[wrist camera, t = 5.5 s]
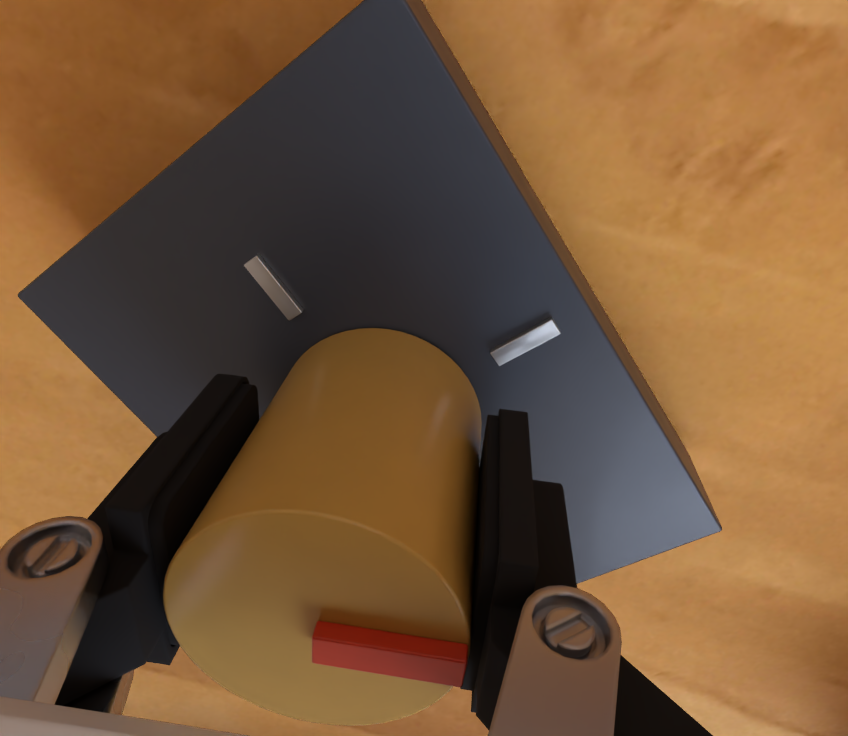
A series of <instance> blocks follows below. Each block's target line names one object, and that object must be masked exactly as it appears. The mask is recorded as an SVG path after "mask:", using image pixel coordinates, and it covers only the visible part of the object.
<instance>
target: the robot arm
mask: <svg viewBox="0 0 848 736" xmlns="http://www.w3.org/2000/svg"><path fill="white" fill-rule="evenodd" d="M258 422H259V404H258V391H257V387H256V386H255V385H251V384H249V380H248V378H247V377H244V376H236V375H228V374H216V375H215V376H214V377H213V378H212V380H211V381H210V382H209V383H208V384H207V386H206V387H205V388H204V389H203V390H202V391H201V393H200V394H199V395H198V396H197V397H196V399H195V400H194V401H193V402H192V403H191V404H190V406H189V407H188V408H187V409H186V410H185V412H184V413H183V414H182V415H181V416H180V417H179V419H178V420H177V421H176V422H175V423H174V425H173V426H172V427H171V428H170V429H169V431H168V432H164V433H162V434H161V435H159V436H158V437H157V438H156V439H155V441H154V442H153V443H152V444H151V445H150V446H149V448H148V449H147V450H146V451H145V452H144V453H143V455H142V456H141V457H140V458H139V459H138V460H137V462H136V463H135V464H134V465H133V466H132V467H131V469H130V470H129V471H128V472H127V473H126V474H125V476H124V477H123V478H122V479H121V480H120V481H119V483H118V484H117V485H116V486H115V487H114V488H113V490H112V491H111V492H110V493H109V494H108V495H107V497H106V498H105V499H104V500H103V501H102V502H101V504H100V505H99V506H98V507H97V508H96V509H95V511H94V512H93V513H92V514H91V515H90V516H89V518H88V519H86V518H83V517H73V516H66V517H58V518H52V519H48V520H45V521H42V522H38V523H36V524H34V525H32V526H30V527H28V528H25V529H23V530H21V531H20V532H19V533H17V534H16V535H15V536H13V537H12V538H11V539H9V540H8V541H7V542H6V544H5V545H4V546H3V547H2V548H1V549H0V736H248V735H242V734H236V733H230V732H223V731H217V730H211V729H205V728H198V727H192V726H186V725H180V724H173V723H167V722H161V721H155V720H148V719H142V718H136V717H130V716H123V715H122V712H123V709H124V706H125V703H126V699H127V696H128V693H129V690H130V686H131V683H132V680H133V674H134V669H136V668H138V667H140V666H142V665H144V664H145V663H146V661H147V662H153V663H159V664H166V665H170V664H171V662H172V660H173V658H174V656H175V654H176V652H177V650H178V648H179V647H180V644H179V643H178V641H177V640H176V638H175V636H174V635H173V633H172V630H171V628H170V626H169V623H168V621H167V617H166V613H165V609H164V601H163V588H164V579H165V575H166V572H167V569H168V566H169V564H170V562H171V560H172V558H173V557H174V555H175V553H176V552H177V550H178V548H179V547H180V545H181V544H182V542H183V540H184V539H185V537H186V536H187V534H188V532H189V531H190V529H191V528H192V526H193V525H194V523H195V521H196V520H197V518H198V517H199V515H200V513H201V512H202V510H203V509H204V507H205V506H206V504H207V502H208V501H209V499H210V498H211V496H212V494H213V493H214V491H215V490H216V488H217V487H218V485H219V483H220V482H221V480H222V479H223V477H224V475H225V474H226V472H227V471H228V469H229V467H230V466H231V464H232V463H233V461H234V460H235V458H236V456H237V455H238V453H239V452H240V450H241V448H242V447H243V445H244V444H245V442H246V441H247V439H248V437H249V436H250V434H251V433H252V431H253V429H254V428H255V426H256V425H257V423H258ZM621 643H622V641H621V632H620V627H619V625H618V623H617V621H616V619H615V617H614V615H613V614H612V613H611V611H610V610H609V609H608V608H607V607H606V606H605V604H604V603H602V602H601V601H599V600H598V599H597V598H595V597H594V596H593V595H591V594H589V593H587V592H585V591H582V590H580V589H578V588H577V583H576V576H575V569H574V562H573V554H572V547H571V540H570V533H569V525H568V518H567V511H566V504H565V496H564V490H563V486H562V484H561V483H554V482H546V481H539V480H533V478H532V464H531V450H530V436H529V422H528V413H527V412H523V411H515V410H507V409H499V412H498V416H496V415H488V416H487V422H486V428H485V435H484V441H483V448H482V454H481V461H480V467H479V484H478V504H477V524H476V545H475V565H474V585H473V605H472V625H471V643H470V653H469V657H468V661H467V667H466V672H465V677H464V682H463V685H462V687H460V688H461V689H465V690H472V703H471V712H475V713H476V716H477V717H478V718H479V719H480V720H481V722H482V723H483V724H484V725H485V726H486V728H487V729H488V730H489V733H488V736H713V735H711V734H710V733H709V732H708V731H707V730H706V729H705V728H703V727H702V726H701V725H700V724H699V723H698V722H697V721H695V720H694V719H693V718H692V717H691V716H690V715H689V714H687V713H686V712H685V711H684V710H683V709H682V708H681V707H679V706H678V705H677V704H676V703H675V702H674V701H673V700H671V699H670V698H669V697H668V696H667V695H666V694H665V693H663V692H662V691H661V690H660V689H659V688H658V687H657V686H655V685H654V684H653V683H652V682H651V681H650V680H649V679H647V678H646V677H645V676H644V675H643V674H642V673H641V672H639V671H638V670H637V669H636V668H635V667H634V666H633V665H631V664H630V663H629V662H628V661H627V660H626V659H625V658H623V657H622V656H621V655H620V654H621Z"/></svg>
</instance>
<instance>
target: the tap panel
mask: <svg viewBox="0 0 848 736" xmlns="http://www.w3.org/2000/svg"><path fill="white" fill-rule="evenodd" d="M18 297H19V298H20V299H21V300H22V301H23V302H24V303H25V304H26V305H27V306H28V307H29V308H30V309H31V310H32V311H33V312H34V313H35V314H36V315H37V316H38V317H39V318H40V319H41V320H42V321H43V322H44V323H45V324H46V325H47V326H48V327H49V328H50V329H51V330H52V331H53V332H54V333H55V334H56V335H57V336H58V337H59V338H60V339H61V340H62V341H63V342H64V344H65V345H66V346H67V347H68V348H69V349H70V350H71V351H72V352H73V353H74V354H75V355H76V356H77V357H78V358H79V359H80V360H81V361H82V362H83V363H84V364H85V365H86V366H87V367H88V368H89V369H90V370H91V371H92V372H93V373H94V374H95V375H96V376H97V377H98V378H99V379H100V380H101V381H102V382H103V383H104V384H105V385H106V386H107V387H108V388H109V389H110V390H111V391H112V392H113V393H114V394H115V395H116V396H117V397H118V398H119V399H120V400H121V401H122V402H123V403H124V404H125V405H126V406H127V407H128V408H129V409H130V410H131V411H132V412H133V413H134V414H135V415H136V416H137V417H138V418H139V419H140V420H141V421H142V422H143V423H144V424H145V425H146V426H147V427H148V428H149V429H150V430H151V431H152V432H153V433H154V434H155V435H156V436H157V437H158V436H159V435H161V434H162V433H164V432H168V431H169V429H170V428H171V427H172V426H173V425H174V423H175V422H176V421H177V420H178V419H179V417H180V416H181V415H182V414H183V413H184V412H185V410H186V409H187V408H188V407H189V406H190V404H191V403H192V402H193V401H194V400H195V399H196V397H197V396H198V395H199V394H200V393H201V391H202V390H203V389H204V388H205V387H206V386H207V384H208V383H209V382H210V381H211V380H212V378H213V377H214V376H215V375H216V374H228V375H236V376H244V377H247V378H248V380H249V384H251V385H255V386H256V387H257V391H258V404H259V420H260V418H261V417H262V415H263V414H264V412H265V410H266V409H267V407H268V406H269V404H270V402H271V401H272V399H273V398H274V396H275V395H276V393H277V391H278V390H279V388H280V387H281V385H282V383H283V382H284V380H285V379H286V377H287V376H288V374H289V372H290V371H291V369H292V368H293V366H294V364H295V363H296V362H297V361H298V359H299V358H300V357H301V356H302V355H303V354H304V353H305V352H306V351H307V350H308V349H310V348H311V347H312V346H314V345H315V344H317V343H318V342H320V341H321V340H323V339H325V338H328V337H330V336H332V335H335V334H338V333H341V332H344V331H349V330H354V329H362V328H380V329H390V330H395V331H400V332H404V333H407V334H410V335H413V336H416V337H418V338H420V339H422V340H424V341H427V342H428V343H430V344H432V345H433V346H435V347H437V348H438V349H440V350H441V351H442V352H444V353H445V354H446V355H447V356H449V357H450V358H451V359H452V360H453V361H454V362H455V363H456V364H457V365H458V366H459V367H460V368H461V370H462V371H463V372H464V374H465V375H466V376H467V378H468V379H469V381H470V383H471V385H472V386H473V388H474V391H475V393H476V396H477V398H478V402H479V406H480V410H481V443H480V461H481V454H482V448H483V441H484V435H485V428H486V422H487V416H488V415H496V416H498V412H499V409H507V410H515V411H523V412H527V413H528V422H529V436H530V450H531V464H532V478H533V480H539V481H546V482H554V483H561V484H562V486H563V490H564V496H565V504H566V511H567V518H568V525H569V533H570V540H571V547H572V554H573V562H574V569H575V576H576V583H577V584H578V583H580V582H583V581H586V580H588V579H591V578H594V577H597V576H599V575H602V574H605V573H608V572H610V571H613V570H616V569H619V568H621V567H624V566H627V565H629V564H632V563H635V562H638V561H640V560H643V559H646V558H649V557H651V556H654V555H657V554H659V553H662V552H665V551H668V550H670V549H673V548H676V547H679V546H681V545H684V544H687V543H690V542H692V541H695V540H698V539H700V538H703V537H706V536H709V535H711V534H714V533H717V532H720V531H721V530H722V527H721V525H720V522H719V520H718V518H717V516H716V514H715V511H714V509H713V507H712V505H711V502H710V500H709V498H708V496H707V494H706V491H705V489H704V487H703V485H702V483H701V480H700V478H699V476H698V474H697V471H696V469H695V467H694V465H693V463H692V460H691V458H690V456H689V454H688V452H687V450H686V448H685V447H684V445H683V443H682V442H681V440H680V438H679V436H678V435H677V433H676V431H675V430H674V428H673V426H672V425H671V423H670V421H669V420H668V418H667V416H666V414H665V413H664V411H663V409H662V408H661V406H660V404H659V403H658V401H657V399H656V397H655V396H654V394H653V392H652V391H651V389H650V387H649V386H648V384H647V382H646V381H645V379H644V377H643V375H642V374H641V372H640V370H639V369H638V367H637V365H636V364H635V362H634V360H633V358H632V357H631V355H630V353H629V352H628V350H627V348H626V347H625V345H624V343H623V342H622V340H621V338H620V336H619V335H618V333H617V331H616V330H615V328H614V326H613V325H612V323H611V321H610V319H609V318H608V316H607V314H606V313H605V311H604V309H603V308H602V306H601V304H600V303H599V301H598V299H597V297H596V296H595V294H594V292H593V291H592V289H591V287H590V286H589V284H588V282H587V280H586V279H585V277H584V275H583V274H582V272H581V270H580V269H579V267H578V265H577V264H576V262H575V260H574V258H573V257H572V255H571V253H570V252H569V250H568V248H567V247H566V245H565V243H564V241H563V240H562V238H561V236H560V235H559V233H558V231H557V230H556V228H555V226H554V224H553V223H552V221H551V219H550V218H549V216H548V214H547V213H546V211H545V209H544V208H543V206H542V204H541V202H540V201H539V199H538V197H537V196H536V194H535V192H534V191H533V189H532V187H531V185H530V184H529V182H528V180H527V179H526V177H525V175H524V174H523V172H522V170H521V169H520V167H519V165H518V163H517V162H516V160H515V158H514V157H513V155H512V153H511V152H510V150H509V148H508V146H507V145H506V143H505V141H504V140H503V138H502V136H501V135H500V133H499V131H498V130H497V128H496V126H495V124H494V123H493V121H492V119H491V118H490V116H489V114H488V113H487V111H486V109H485V107H484V106H483V104H482V102H481V101H480V99H479V97H478V96H477V94H476V92H475V91H474V89H473V87H472V85H471V84H470V82H469V80H468V79H467V77H466V75H465V74H464V72H463V70H462V68H461V67H460V65H459V63H458V62H457V60H456V58H455V57H454V55H453V53H452V52H451V50H450V48H449V46H448V45H447V43H446V41H445V40H444V38H443V36H442V35H441V33H440V31H439V29H438V28H437V26H436V24H435V23H434V21H433V19H432V18H431V16H430V14H429V13H428V11H427V9H426V7H425V6H424V4H423V2H422V1H421V0H364V1H362V2H361V3H360V4H359V5H358V6H357V7H355V8H354V9H353V10H352V11H351V12H349V13H348V14H347V15H346V16H345V17H344V18H342V19H341V20H340V21H339V22H338V23H336V24H335V25H334V26H333V27H332V28H331V29H329V30H328V31H327V32H326V33H325V34H324V35H322V36H321V37H320V38H319V39H318V40H316V41H315V42H314V43H313V44H312V45H311V46H309V47H308V48H307V49H306V50H305V51H303V52H302V53H301V54H300V55H299V56H298V57H296V58H295V59H294V60H293V61H292V62H291V63H289V64H288V65H287V66H286V67H285V68H283V69H282V70H281V71H280V72H279V73H278V74H276V75H275V76H274V77H273V78H272V79H270V80H269V81H268V82H267V83H266V84H265V85H263V86H262V87H261V88H260V89H259V90H257V91H256V92H255V93H254V94H253V95H252V96H250V97H249V98H248V99H247V100H246V101H245V102H243V103H242V104H241V105H240V106H239V107H237V108H236V109H235V110H234V111H233V112H232V113H230V114H229V115H228V116H227V117H226V118H224V119H223V120H222V121H221V122H220V123H219V124H217V125H216V126H215V127H214V128H213V129H212V130H210V131H209V132H208V133H207V134H206V135H204V136H203V137H202V138H201V139H200V140H199V141H197V142H196V143H195V144H194V145H193V146H191V147H190V148H189V149H188V150H187V151H186V152H184V153H183V154H182V155H181V156H180V157H178V158H177V159H176V160H175V161H174V162H173V163H171V164H170V165H169V166H168V167H167V168H166V169H164V170H163V171H162V172H161V173H160V174H158V175H157V176H156V177H155V178H154V179H153V180H151V181H150V182H149V183H148V184H147V185H145V186H144V187H143V188H142V189H141V190H140V191H138V192H137V193H136V194H135V195H134V196H133V197H131V198H130V199H129V200H128V201H127V202H125V203H124V204H123V205H122V206H121V207H120V208H118V209H117V210H116V211H115V212H114V213H112V214H111V215H110V216H109V217H108V218H107V219H105V220H104V221H103V222H102V223H101V224H99V225H98V226H97V227H96V228H95V229H94V230H92V231H91V232H90V233H89V234H88V235H87V236H85V237H84V238H83V239H82V240H81V241H79V242H78V243H77V244H76V245H75V246H74V247H72V248H71V249H70V250H69V251H68V252H66V253H65V254H64V255H63V256H62V257H61V258H59V259H58V260H57V261H56V262H55V263H54V264H52V265H51V266H50V267H49V268H48V269H46V270H45V271H44V272H43V273H42V274H41V275H39V276H38V277H37V278H36V279H35V280H33V281H32V282H31V283H30V284H29V285H28V286H26V287H25V288H24V289H23V290H22V291H20V292H19V293H18ZM479 467H480V464H479Z"/></svg>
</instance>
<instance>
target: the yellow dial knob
mask: <svg viewBox="0 0 848 736" xmlns="http://www.w3.org/2000/svg"><path fill="white" fill-rule="evenodd" d="M480 443H481V410H480V406H479V402H478V398H477V396H476V393H475V391H474V388H473V386H472V385H471V383H470V381H469V379H468V378H467V376H466V375H465V374H464V372H463V371H462V370H461V368H460V367H459V366H458V365H457V364H456V363H455V362H454V361H453V360H452V359H451V358H450V357H449V356H447V355H446V354H445V353H444V352H442V351H441V350H440V349H438V348H437V347H435V346H433V345H432V344H430V343H428V342H427V341H424V340H422V339H420V338H418V337H416V336H413V335H410V334H407V333H404V332H400V331H395V330H390V329H380V328H362V329H354V330H349V331H344V332H341V333H338V334H335V335H332V336H330V337H328V338H325V339H323V340H321V341H320V342H318V343H317V344H315V345H314V346H312V347H311V348H310V349H308V350H307V351H306V352H305V353H304V354H303V355H302V356H301V357H300V358H299V359H298V361H297V362H296V363H295V364H294V366H293V368H292V369H291V371H290V372H289V374H288V376H287V377H286V379H285V380H284V382H283V383H282V385H281V387H280V388H279V390H278V391H277V393H276V395H275V396H274V398H273V399H272V401H271V402H270V404H269V406H268V407H267V409H266V410H265V412H264V414H263V415H262V417H261V418H260V420H259V422H258V423H257V425H256V426H255V428H254V429H253V431H252V433H251V434H250V436H249V437H248V439H247V441H246V442H245V444H244V445H243V447H242V448H241V450H240V452H239V453H238V455H237V456H236V458H235V460H234V461H233V463H232V464H231V466H230V467H229V469H228V471H227V472H226V474H225V475H224V477H223V479H222V480H221V482H220V483H219V485H218V487H217V488H216V490H215V491H214V493H213V494H212V496H211V498H210V499H209V501H208V502H207V504H206V506H205V507H204V509H203V510H202V512H201V513H200V515H199V517H198V518H197V520H196V521H195V523H194V525H193V526H192V528H191V529H190V531H189V532H188V534H187V536H186V537H185V539H184V540H183V542H182V544H181V545H180V547H179V548H178V550H177V552H176V553H175V555H174V557H173V558H172V560H171V562H170V564H169V566H168V569H167V572H166V575H165V579H164V588H163V601H164V609H165V613H166V617H167V621H168V623H169V626H170V628H171V630H172V633H173V635H174V636H175V638H176V640H177V641H178V643H179V644H180V646H181V648H182V649H183V650H184V651H185V653H186V654H187V655H188V656H189V658H190V659H191V660H192V661H193V662H194V663H195V664H196V665H197V666H198V667H199V668H200V669H201V670H202V671H203V672H204V673H205V674H207V675H208V676H209V677H210V678H211V679H213V680H214V681H215V682H217V683H218V684H219V685H221V686H222V687H224V688H225V689H227V690H228V691H230V692H232V693H233V694H235V695H237V696H239V697H240V698H242V699H244V700H246V701H248V702H250V703H252V704H254V705H257V706H259V707H261V708H264V709H266V710H269V711H272V712H274V713H277V714H280V715H284V716H287V717H291V718H294V719H298V720H303V721H308V722H313V723H320V724H328V725H344V726H354V725H371V724H379V723H385V722H389V721H394V720H398V719H401V718H404V717H407V716H410V715H413V714H415V713H417V712H419V711H421V710H424V709H426V708H428V707H429V706H431V705H432V704H434V703H435V702H437V701H438V700H440V699H441V698H442V697H443V696H444V695H445V694H446V693H447V692H449V691H450V689H451V688H452V687H453V686H455V687H462V685H463V682H464V677H465V672H466V667H467V661H468V657H469V653H470V643H471V625H472V605H473V585H474V565H475V545H476V524H477V504H478V484H479V464H480Z"/></svg>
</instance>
